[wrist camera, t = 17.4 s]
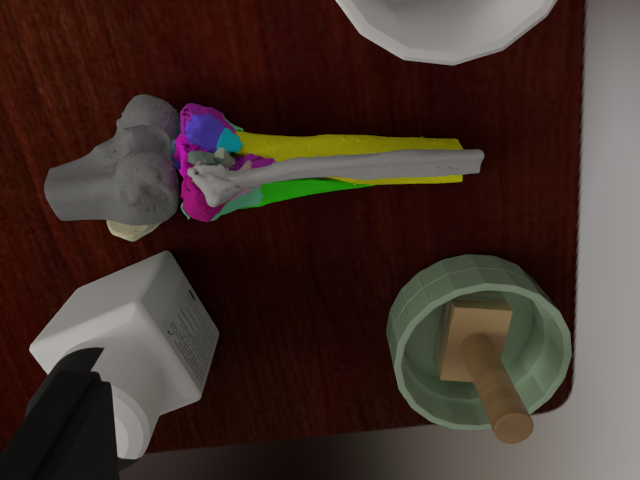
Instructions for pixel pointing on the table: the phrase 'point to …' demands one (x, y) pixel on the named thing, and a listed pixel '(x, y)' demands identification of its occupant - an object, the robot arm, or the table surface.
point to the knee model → (230, 167)
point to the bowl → (519, 351)
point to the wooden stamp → (482, 359)
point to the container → (133, 345)
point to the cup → (444, 26)
